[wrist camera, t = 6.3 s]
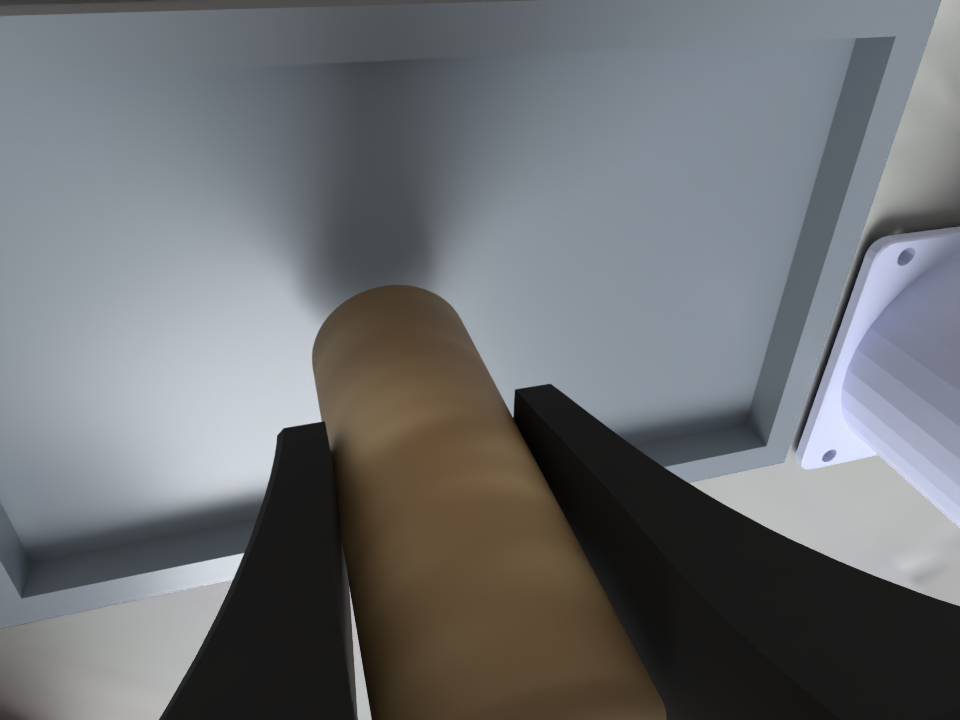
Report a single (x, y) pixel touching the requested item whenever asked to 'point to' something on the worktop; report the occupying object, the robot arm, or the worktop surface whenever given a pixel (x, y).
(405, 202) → the tray
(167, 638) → the worktop surface
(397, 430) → the dowel pin
